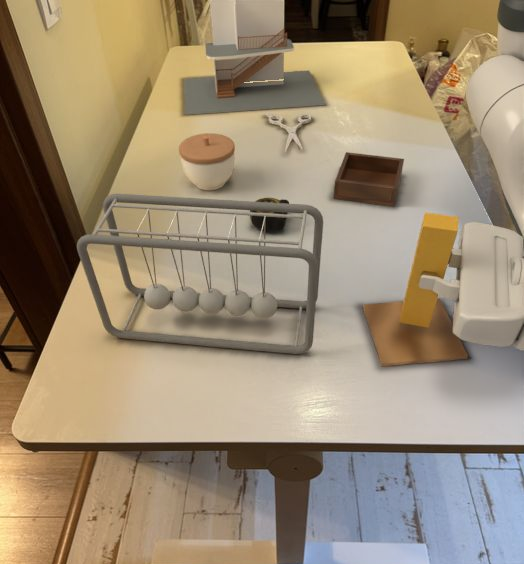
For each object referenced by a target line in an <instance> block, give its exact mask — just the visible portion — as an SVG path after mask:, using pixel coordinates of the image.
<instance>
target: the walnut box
mask: <svg viewBox="0 0 524 564" xmlns="http://www.w3.org/2000/svg"><path fill="white" fill-rule="evenodd" d="M404 162H405V158H402V157H401V158H400V157H391V156H382V155H373V154H365V153H357V152H349V151H348V152H347V151H346V152H345V153H344V156H343V159H342V162H341V165H340V166H339V169H338V173H337V175H336V177H335V180H334V189H333V200H340V201H348V202H355V203H363V204H369V205H377V206H383V207H384V206H386V207H391V208H394V207H395V205H396V201H397V196H398V192H399V187H400V183H401V177H402V174H403V168H404V164H405V163H404Z"/></svg>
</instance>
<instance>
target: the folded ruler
mask: <svg viewBox="0 0 524 564" xmlns="http://www.w3.org/2000/svg"><path fill="white" fill-rule="evenodd" d="M459 218H460V217H459V216H454V215H447V214H439V213H433V212H424V215H423V218H422V221H421V227H420V231H419V236H418V239H417V242H416V243H417V244H416V247H415V252H414V256H413V260H412V265H411V268H410V272H409V277H408V281H407V285H406V289H405V293H404V298H403V301H404V302H403V306H402V311H401V317H400V323H405V324H411V325H416V326H422V327H427V328H428V327H429V325H430V321H431V318H432V315H433V311H434V308H435V305H436V302H437V299H438V298H439V295H438V294H437V293H435V292H433V291H432V290H428V289H422V288H420V287H419V280H420V276H421V272H422V271H428V272H436V276H437V277H439V278H441V279H444V278H445V275H446V272H447V268H448V265H449V264H448V262H449V259H450V255H451V252H452V249H453V248H454V245H455V242H456V238H457V235H458V232H459V220H460V219H459Z"/></svg>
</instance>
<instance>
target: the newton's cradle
mask: <svg viewBox="0 0 524 564" xmlns="http://www.w3.org/2000/svg"><path fill="white" fill-rule="evenodd" d="M118 203H119V204H118ZM121 203H122V204H121ZM134 204H135V205H134ZM137 204H138V205H137ZM139 204H140V205H139ZM149 205H150V206H149ZM151 205H152V206H151ZM153 205H154V206H153ZM155 205H156V206H155ZM168 206H169V207H168ZM171 206H172V207H171ZM173 206H174V207H173ZM114 208H121V209H122V208H123V209H136V210H137V209H138V210H147V211H146V213H145V214H144V216H143V218H142V220H141V222H140V224H139V226H138V228H137V230H129V229H128V230H126V229H118V227H117V222H116V219H115V215H114V211H113V209H114ZM206 208H207V209H206ZM102 209H103V214H104V216H103V217H102V219H101V221H99V223H98V225H97V227H96V228H95V230H94V231H93V233H90V234H84V235H83V236H81V237H80V238H79V239H78V240H77V243H76V251H77V253H78V257H79V259H80V262H81V266H82V268H83V271H84V273H85V277H86V279H87V282H88V285H89V288H90V291H91V294H92V297H93V299H94V302H95V305H96V308H97V311H98V314H99V317H100V320H101V323H102V325H103V328H104V329H105V331H106V332H107V333H108V334H110V335H111V336H112V337H115V338H119V339H124V340H125V339H126V340H137V341H147V342H159V343H169V344H170V343H171V344H181V345H192V346H204V347H212V348H213V347H214V348H226V349H237V350H249V351H258V352H269V353H281V354H290V355H291V354H293V355H301V354H305V353H307V352H309V351H310V350H311V349H312V348H313V343H314V333H315V332H314V331H315V317H316V305H317V300H318V298H319V297H318V296H319V286H320V285H319V284H320V283H319V282H320V270H321V268H320V267H321V259H322V246H323V233H324V231H323V230H324V217H323V215H322V212H321V211H320V210H319V209H318V208H317V207H315V206H313V205H309V204H303V203H302V204H301V203H289V204H286V203H269V202H255V201H249V200H231V199H216V198H215V199H213V198H199V197H198V198H196V197H184V196H183V197H182V196H181V197H180V196H165V195H164V196H163V195H147V194H130V193H128V194H127V193H111V194H109V195H107V196H106V197H105V198H104V200H103V203H102ZM217 209H218V210H217ZM219 209H220V210H219ZM150 210H155V211H171V212H175V214H174V216H173V218H172V220H171V223H170V225H169V228H168V230H167V232H158V231H157V232H156V231H152V225H151V215H150ZM235 210H238V211H235ZM250 210H252V211H269V212H285V213H288V215H286V214H270V213H253V212H250ZM179 212H186V213H202V214H204V213H205V214H204V216H203V219H202V221H201V224H200V226H199V230H198V232H197V234H187V233H181V232H180V221H179ZM207 214H218V215H219V214H220V215H233V216H234V217H233V220H232V223H231V227H230V229H229V233H228V236H220V235H219V236H217V235H209V228H208V215H207ZM301 214H302V215H301ZM147 215H148V226H149V231H142V230H139V229H140V227H141V226H142V224H143V222H144V220H145V218H146V216H147ZM308 215H309V216H311V217H312V218H313V220H314V227H313V242H312V252H311V251H309V250H307V249H305V248H303V242H304V236H305V235H304V234H305V230H306V229H305V228H306V223H307V222H306V221H307V216H308ZM237 216H249V217H250V216H264V222H263V225H264V230H261V229H260V230H261V231H260V234H259V238H247V237H238V236H237ZM266 217H283V218H286V219H299V220H301V219H302V221H301V228H300V235H299V241H294V240H293V241H292V240H280V239H279V240H277V239H266V231H265V226H266ZM175 218H176V221H177V222H176V223H177V233H173V232H169V231H170V229H171V227H172V224H173V222H174V220H175ZM204 220H205V227H206V229H205V230H206V235H202V234H199V233H200V231H201V228H202V226H203V223H204ZM105 222H106V223H107V224H106V225H107V227H108V228H102V227H103V225H104V223H105ZM233 225H234V234H235V235H234V236H235V237H233V236H230V235H231V232H232V229H233ZM262 229H263V226H262ZM98 233H109V235H108V234H98ZM262 233H263V235H264V236H263V239H262V238H261V236H262ZM120 234H127V235H137V236H125V235H124V236H121V235H120ZM140 235H141V236H142V235H143V236H150V237H140ZM153 236H157V237H167V238H153ZM170 237H171V238H173V237H174V238H178V239H170ZM181 238H186V239H197V241H195V240H183V239H181ZM200 240H206V241H200ZM209 240H216V241H227V242H224V243H223V242H213V241H212V242H210V241H209ZM231 241H232V242H234V243H231ZM238 242H244V243H245V242H247V243H258V245H255V244H242V243H238ZM261 244H263V245H261ZM266 244H277V245H290V246H291V245H292V246H298V247H285V246H271V245H266ZM88 245H103V246H105V245H106V246H113V249H114V252H115V255H116V260H117V262H118V267H119V269H120V273H121V277H122V280H123V284H124V286H125V288H126V289H127V290H128V291H129V292H130V293H131V294H134V295H135V296H137V297H136V300H135V302H134V304H133V306H132V309H131V311H130V313H129V315H128V317H127V319H126V321H125V324H124V326H123V328H122V329H119V328H116V327H115V326H114V325H113V324H112V322H111V321H112V320H111V319H110V315H109V312H108V309H107V306H106V303H105V300H104V296H103V293H102V291H101V288H100V284H99V282H98V278H97V276H96V273H95V270H94V267H93V263H92V261H91V257H90V254H89V252H88V249H87V246H88ZM123 247H135V248H141V250H142V251H141V252H142V255H143V257H144V261H145V263H146V266H147V270H148V273H149V277H150V280H151V283H152V284H150V285H149V286H148V287H147V288H140V287H137V286H135V285H134V284H133V281H132V279H131V278H132V277H131V274H130V272H129V267H128V263H127V259H126V256H125V253H124V252H125V251H124V249H123ZM144 248H148V249H151V255H152V265H153V274H154V279H153V277H152V273H151V270H150V267H149V264H148V261H147V256H146V254H145V249H144ZM154 249H161V250H163V249H164V250H170V251H171V254H172V258H173V262H174V265H175V269H176V272H177V275H178V279H179V282H180V286H179V287H178V288H176V289H175V290H174V291H173V290H169V289H168V288H167V287H166V286H165V285H164V284H161V283H157V276H156V275H157V274H156V265H155V255H154ZM174 250H175V251H177V250H178V251H179V252H180V263H181V271H182V272H181V273H182V279H181V275H180V272H179V269H178V265H177V261H176V258H175V254H174ZM182 251H189V252H190V251H192V252H200V256H201V262H202V265H203V266H202V267H203V270H204V275H205V280H206V284H207V288H205V289H204V290H203V291H201V292H200V293H199V292H197V291H196V290H195V289H194V288H193V287H192V286H188V285H185V283H186V282H185V274H184V273H185V272H184V265H183V263H184V262H183V253H182ZM203 252H204V253H205V252H206V253H207V261H208V263H207V264H208V276H207V270H206V266H205V261H204V257H203ZM210 253H217V254H218V253H221V254H229V256H230V257H229V258H230V263H231V270H232V276H233V283H234V284H233V285H234V290H232V291H230V292H229V293H228V294H227V295H226V294H223V292H221V290H220V289H217V288H215V287H212V279H211V277H212V276H211V262H210V260H211V259H210ZM232 254H233V255H234V254H235V266H236V267H235V271H234V264H233V256H232ZM238 255H248V256H259V263H260V275H261V287H262V291H261V292H258V293H257V294H255V295H254V296H253V297H251V296H249V295H248V294H247V292H245V291H243V290H241V289H239V279H238V278H239V277H238ZM262 256H263V261H262ZM266 257H276V258H277V257H278V258H290V259H291V258H293V259H301V260H304V261H305V262H307V265H308V278H307V293H306V296H307V297H306V300H304V301H301V300H291V299H290V300H288V299H277V298H276V297H275V296H274V295H273V294H271V293H270V292H267V291H266ZM235 273H236V274H235ZM235 275H236V276H235ZM208 277H209V281H208ZM141 297H143V299H144V303H145V304H146V305H147V306H148V307H149V308H150V309H153V310H163V309H165V308H166V307H167V306H168V305H169V304H170V301H171V299H172V303H173V306H174V307H175V308H176V309H177V310H178V311H180V312H183V313H189V312H192V311H193V310H195V309H196V308H197V306H199V308H200V310H201V311H203V312H204V313H205V314H208V315H216V314H218V313H219V312H221V311H222V310H223V308H225V309H226V311H227V313H228V314H230V315H231V316H233V317H242V316H245V315H247V313H248V312H249V311H250V308H251V311H252V313H253V314H254V316H256V317H257V318H259V319H269V318H271V317H273V316H274V315H275V314H276V312H277V310H278V308H285V309H286V308H287V309H299V311H298V317H297V318H298V319H297V323H296V324H297V326H296V331H295V340H294V345H289V344H280V343H279V344H278V343H267V342H265V343H264V342H255V341H245V340H234V339H223V338H222V339H221V338H210V337H199V336H188V335H176V334H167V333H165V334H164V333H156V332H155V333H154V332H143V331H134V330H133V331H131V330H127V329H128V326H129V324H130V321H131V319H132V317H133V315H134V313H135V310H136V308H137V306H138V304H139V301H140V299H141ZM303 310H306V311H305V328H304V343H303V344H300V345H298V343H299V338H300V337H299V336H300V328H301V321H302V314H303V313H302V312H303Z"/></svg>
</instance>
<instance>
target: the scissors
mask: <svg viewBox="0 0 524 564" xmlns="http://www.w3.org/2000/svg"><path fill="white" fill-rule="evenodd" d="M265 117H267V118H268V122H269V123H270V124H272V125H276V126H279V127H280V128H281V129H284V130H286V133H288V136H287V138H286V142H285V143H286V144H285V147H284V153H286V152H287V151H288V147H289V146H290V144H291V142H292V140H294V142H295V143H296V144H297V146H298V147H299V148H300V150H302V151H304V148H303V147H302V144H301V142H300V140H299V137H298V135H297V131H298V129H300V128H301V127H302V125H305V124H308V123H310V122H311V121H312V115H310V114H308V113H303V114H300V115H299V116H298V117H297V122H298V123H297V124H296V125H293V126H292V127H290V126H289V125H286V124H284V123H283V122H284V118H283V117H282V116H280V115H276V114H275V115H273V114H270V112H266V113H265Z"/></svg>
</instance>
